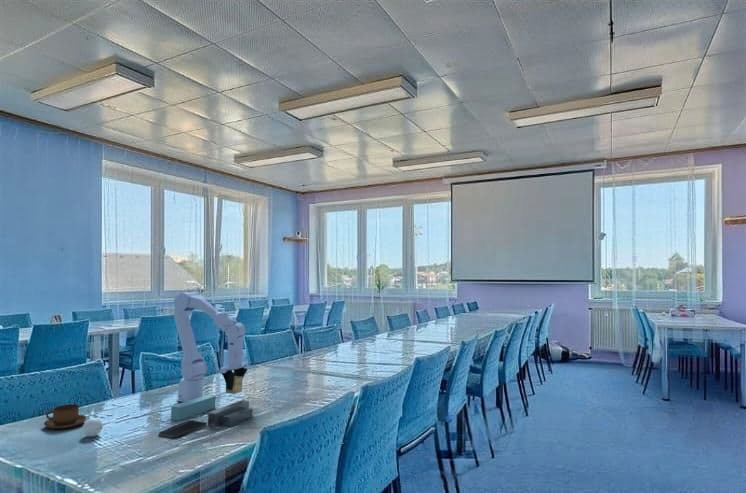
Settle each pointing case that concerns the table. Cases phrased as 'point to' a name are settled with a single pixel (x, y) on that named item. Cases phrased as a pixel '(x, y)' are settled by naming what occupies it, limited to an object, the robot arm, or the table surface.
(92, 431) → the white rounded piece
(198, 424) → the phone
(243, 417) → the vise
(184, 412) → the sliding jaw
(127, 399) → the table surface
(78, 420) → the cup and saucer
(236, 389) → the oak block
